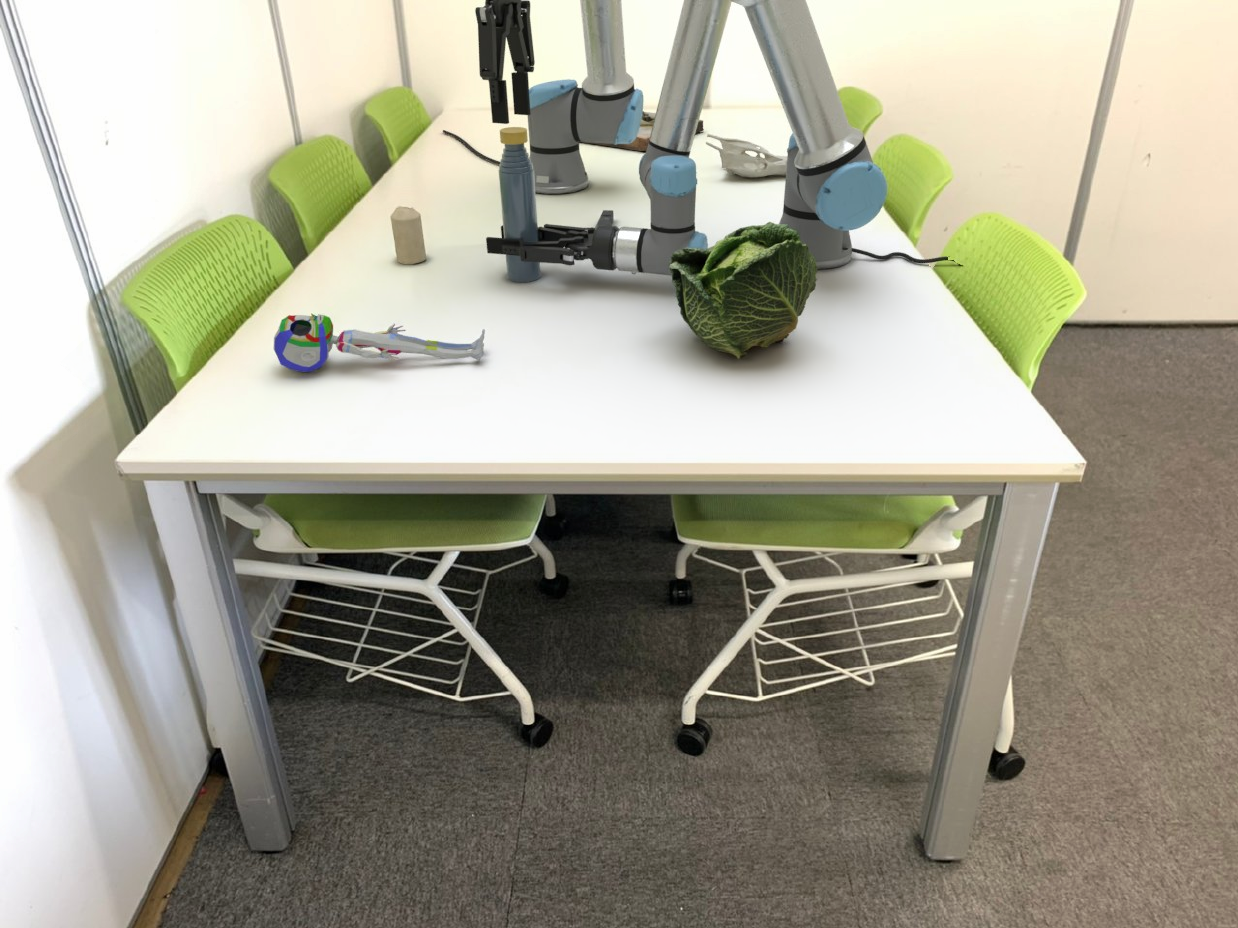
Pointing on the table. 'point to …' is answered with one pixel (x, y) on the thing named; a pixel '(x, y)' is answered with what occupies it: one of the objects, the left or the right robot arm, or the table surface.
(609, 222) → the pillar
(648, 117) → the plaque
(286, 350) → the toy
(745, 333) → the vegetable
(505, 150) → the bottle
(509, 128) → the cap
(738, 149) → the anatomical model
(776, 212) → the table surface
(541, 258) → the right robot arm
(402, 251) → the candle
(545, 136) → the left robot arm
